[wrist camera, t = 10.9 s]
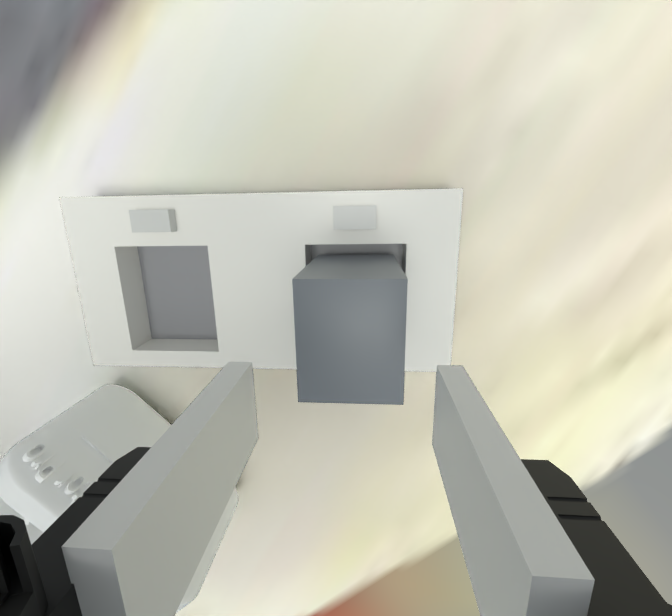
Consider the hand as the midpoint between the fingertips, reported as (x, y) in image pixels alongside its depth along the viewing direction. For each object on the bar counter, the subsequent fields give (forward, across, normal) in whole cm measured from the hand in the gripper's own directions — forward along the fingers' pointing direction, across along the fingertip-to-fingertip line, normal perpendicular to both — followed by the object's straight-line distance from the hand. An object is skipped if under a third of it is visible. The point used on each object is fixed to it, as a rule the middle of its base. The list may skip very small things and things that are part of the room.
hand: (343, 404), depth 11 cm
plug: (+16, 0, 0) cm, 16 cm away
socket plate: (+17, -6, +1) cm, 18 cm away
